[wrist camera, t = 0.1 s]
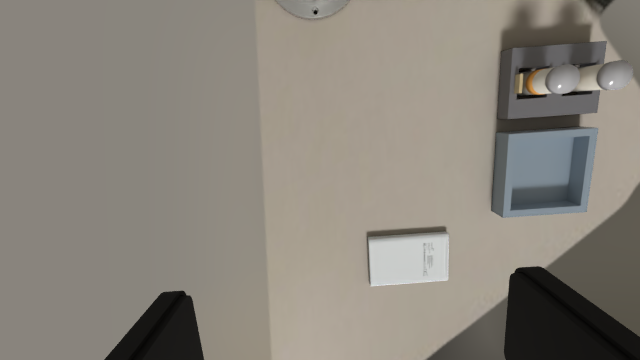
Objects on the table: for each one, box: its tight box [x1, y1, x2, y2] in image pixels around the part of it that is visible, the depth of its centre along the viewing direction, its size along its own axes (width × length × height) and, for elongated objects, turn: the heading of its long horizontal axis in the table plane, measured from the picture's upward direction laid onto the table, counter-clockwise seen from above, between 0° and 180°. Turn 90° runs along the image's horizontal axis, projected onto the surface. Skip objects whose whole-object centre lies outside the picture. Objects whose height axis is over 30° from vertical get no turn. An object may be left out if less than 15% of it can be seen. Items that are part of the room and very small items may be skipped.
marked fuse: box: [517, 64, 580, 96], centre depth 39 cm, size 3×3×8 cm
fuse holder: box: [497, 41, 607, 119], centre depth 41 cm, size 9×12×4 cm
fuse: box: [568, 60, 633, 93], centre depth 39 cm, size 3×3×8 cm
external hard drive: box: [368, 231, 449, 286], centre depth 48 cm, size 2×8×12 cm
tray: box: [491, 127, 598, 218], centre depth 44 cm, size 12×12×3 cm
